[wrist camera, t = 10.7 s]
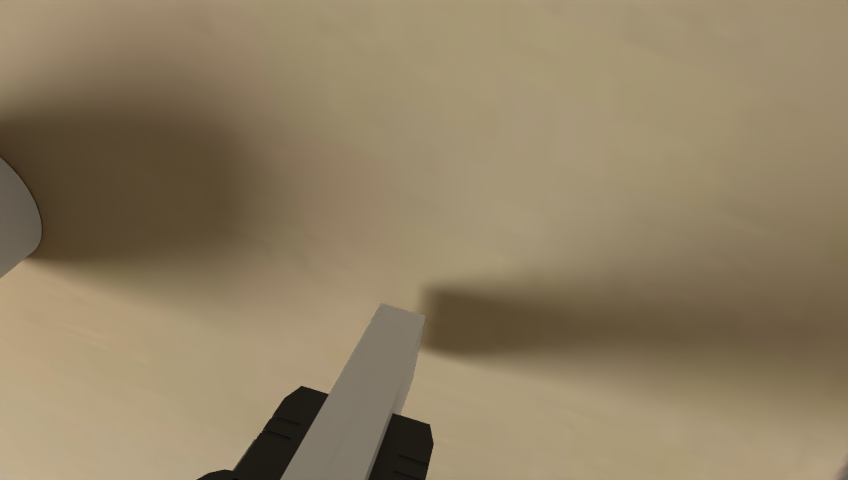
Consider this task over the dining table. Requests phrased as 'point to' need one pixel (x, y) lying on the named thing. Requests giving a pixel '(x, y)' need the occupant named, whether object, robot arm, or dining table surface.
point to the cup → (16, 220)
